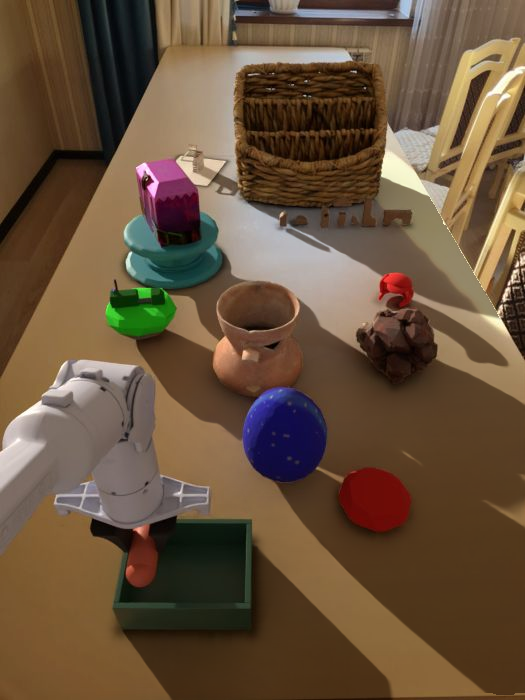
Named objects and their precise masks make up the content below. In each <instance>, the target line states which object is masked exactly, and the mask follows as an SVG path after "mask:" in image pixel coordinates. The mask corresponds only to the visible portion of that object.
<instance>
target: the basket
mask: <svg viewBox="0 0 525 700" xmlns="http://www.w3.org/2000/svg"><path fill="white" fill-rule="evenodd" d="M383 74H384V73H383V71H382V67H381V65H380V64H378V63H376V62H366V61H361V60H360V61H356V60H346V61H339V62H338V61H337V62H336V61H329V62H327V61H317V62H315V61H312V62H308V63H304V62H302V63H299V62H296V63H294V62H292V63H290V62H281V61H277V62H266V63H265V62H262V63H251V64H245V65H243V66H242V67H240V69H239V70H237V72H235V77H234V84H233V88H234V90H233V101H234V103H233V109H232V113H233V114H232V115H233V122H234V124H233V128H234V138H235V141H234V154H235V159H234V160H235V164H236V166H235V169H236V176H237V177H236V178H238V179H237V188H238V189H239V190H238V194H239V196H240V197H241V198H242V199H243V200H245V201H255V202H260V203H263V204H264V203H265V204H273V205H283V206H286V207H289V206H292V207H297V206H299V207H305V208H308V207H310V208H311V207H314V206H315V207H318V208H319V207H322V206H325V207H327V208H330V206H333V207H335V206H334V205H333V202H335V201H336V200H337V199H338V198H339V197H340V196H342V195H344V196H345V197H346V198H347V199H348V200H349V201H350V202H351V204H355V203H356V204H359V203H362V202H364V200H365V198H372V199H373V198H375V197H377V196H378V195H379V193H380V187H381V183H380V181H382V179H381V176H382V173H383V172H382V169H383V164H384V158H385V155H386V148H387V132H388V126H389V124H388V122H389V120H388V117H387V116H388V110H387V100H386V98H387V97H386V93H387V92H386V89H385V82H384V75H383Z"/></svg>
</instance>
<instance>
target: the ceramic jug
mask: <svg viewBox="0 0 525 700" xmlns="http://www.w3.org/2000/svg"><path fill="white" fill-rule="evenodd" d="M300 308H301V304H300V301H299V299H298V297H297V295H295V294H294V292H292V291H291V290H290V289H288V288H287V287H286V286H284V285H282V284H279V283H277V282H271V281H269V280H268V281H267V280H251V281H250V280H249V281H244V282H240V283H238V284H235V285H232V286H230V287H229V288H228V289H226V290H225V291H224V292H222V294H221V295H220V296H219V298H218V299H217V302H216V315H217V319H218V323H219V325H220V328H221V331H222V332H223V334H224V336H223V338H221V340H220V341H218V343H217V345H216V346H215V348H214V351H213V355H212V359H211V360H212V361H211V362H212V363H211V364H212V367H213V371H214V372H215V374H216V376H217V378H218V380H219V381H220V383H222V384H223V385H224V386H225V387H226V388H228V389H229V390H230V391H233V392H235V393H237V394H240V395H243V396H248V397H256V398H259V396H260V395H261V394H262V393H264V392H265V391H267V390H269V389H272V388H277V387H288V388H290V387H291V386H292V385H293V384H294V383H295V382H296V381H297V379H298V378H299V377H300V375H301V373H302V370H303V366H304V356H303V352H302V349H301V347H300V346H299V344H298V342H297V341H295V339H294V338H293V337H292V336H291V335H292V333H293V332H294V329H295V327H296V324H297V322H298V320H299V315H300V312H301V311H300V310H301V309H300Z"/></svg>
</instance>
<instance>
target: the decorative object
mask: <svg viewBox="0 0 525 700" xmlns="http://www.w3.org/2000/svg"><path fill="white" fill-rule="evenodd" d="M135 175H136V182H137V187H138V195H139V197H138V198H139V205H140V211H141V214H140V215H138V216H135V217H134V218H133V219H132V220H130V221H129V222H128V223H127V224H126V226H125V228H124V229H123V233H122V235H123V242H124V245H125V246H126V247H127V248H128V250H129V252H128V255H127V257H126V259H125V266H126V271H127V273H128V275H130V277H131V278H132V279H133V280H134V281H136V282H137V283H140V284H141V285H143V286H147V287H150V288H162V289H163V290H164V289H167V290H176V289H185V288H190V287H193V286H195V285H198V284H201V283H205V282H206V281H207V280H210V279H211V278H212V277H214V276H215V275H216V274H217V272H218V271H219V270H220V269H221V268H222V263H223V254H222V251H221V249H220V247H219V246H218V245H216V244H215V243H216V242H217V240H218V237H219V232H220V231H219V230H220V229H219V227H218V225H217V221H216V220H215V219H213V218H212V217H211V216H210V215H209V214H208V213H206V212H203V211H201V209H200V195H199V188H198V187H197V186H196V184H193V182H192V181H191V180H190V179H189V177H188V176H187V175H186V174H185V172H184V171H183V170H182V169H181V167H180V166H179V165H178V164H177V162H176V160H175V159H174V158H173V157H170V158H165V159H158V160H153V161H147V162H144V163H142V164H140V165H139V166H137V167H135Z"/></svg>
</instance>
